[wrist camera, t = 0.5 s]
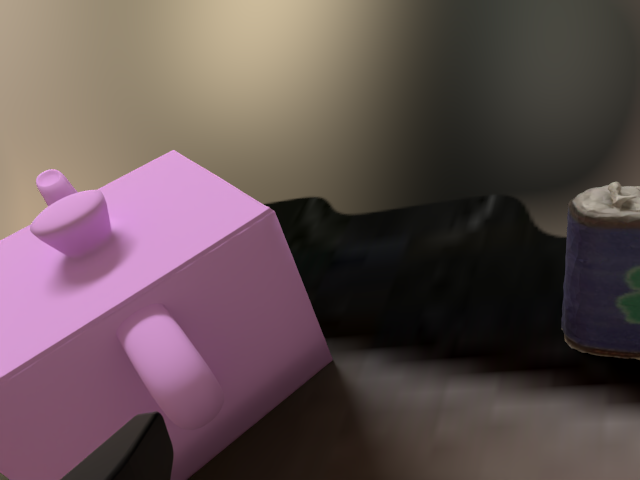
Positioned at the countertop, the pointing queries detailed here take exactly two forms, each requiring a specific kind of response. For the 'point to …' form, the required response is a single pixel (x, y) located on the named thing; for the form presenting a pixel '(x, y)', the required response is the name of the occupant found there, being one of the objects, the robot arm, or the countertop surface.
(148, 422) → the robot arm
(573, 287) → the flask
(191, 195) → the teapot
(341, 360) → the countertop surface
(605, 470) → the countertop surface
